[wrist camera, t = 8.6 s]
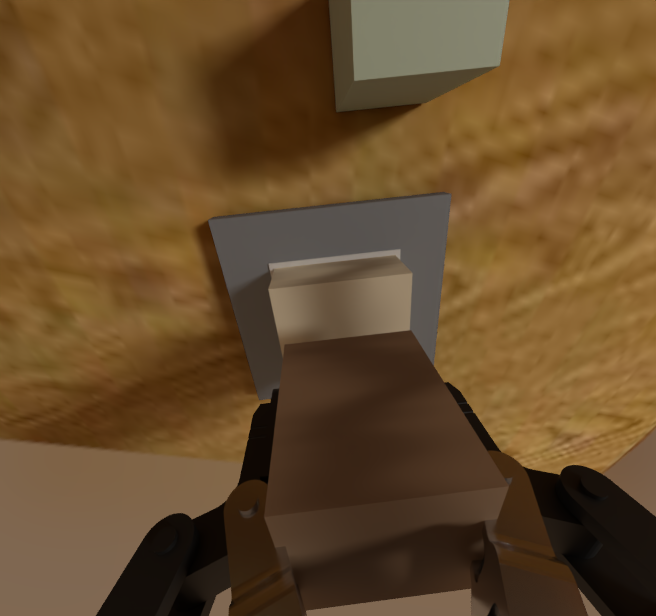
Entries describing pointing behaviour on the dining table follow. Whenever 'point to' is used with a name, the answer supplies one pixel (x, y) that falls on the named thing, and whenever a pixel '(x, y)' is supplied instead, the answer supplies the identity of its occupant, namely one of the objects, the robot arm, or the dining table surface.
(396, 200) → the plate
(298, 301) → the maple slab
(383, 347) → the walnut block
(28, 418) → the dining table surface
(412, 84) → the sage block
